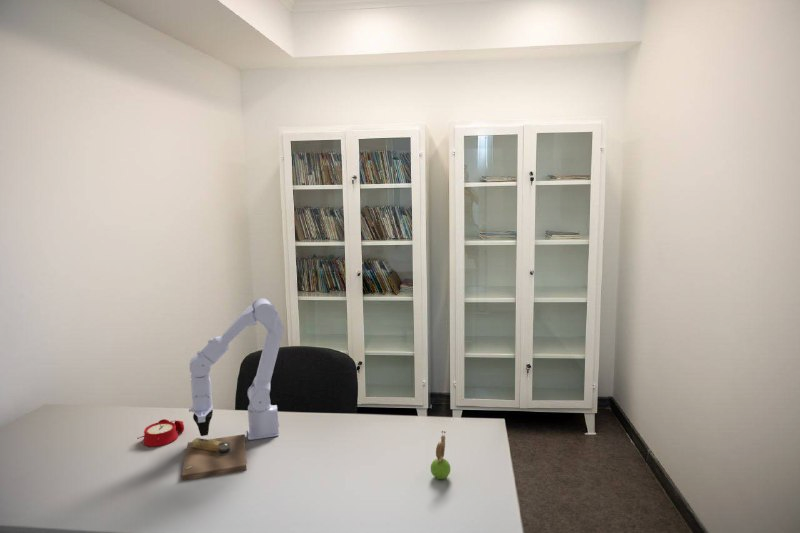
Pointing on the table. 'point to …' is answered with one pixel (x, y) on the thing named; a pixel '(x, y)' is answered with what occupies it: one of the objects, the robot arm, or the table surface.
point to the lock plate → (215, 459)
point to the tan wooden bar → (211, 445)
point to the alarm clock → (162, 433)
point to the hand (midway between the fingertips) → (204, 434)
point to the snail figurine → (440, 461)
